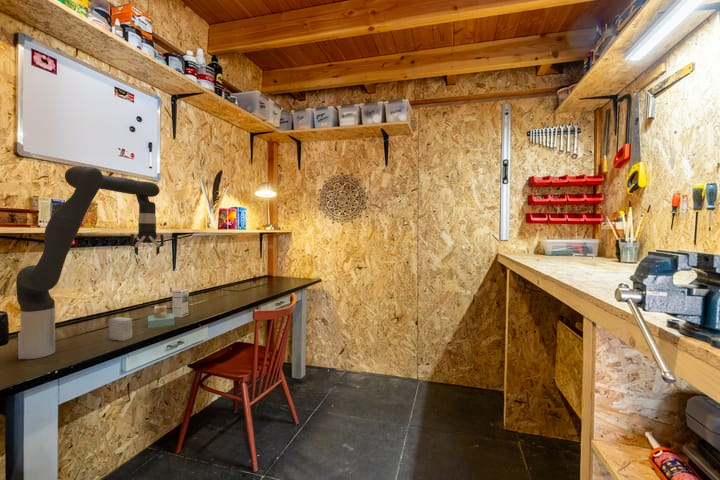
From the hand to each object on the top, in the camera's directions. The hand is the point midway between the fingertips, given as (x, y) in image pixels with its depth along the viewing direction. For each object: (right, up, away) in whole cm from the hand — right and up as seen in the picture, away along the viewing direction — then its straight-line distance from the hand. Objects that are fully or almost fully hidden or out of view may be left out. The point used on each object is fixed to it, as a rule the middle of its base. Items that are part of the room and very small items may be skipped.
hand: (147, 254), depth 168 cm
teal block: (+8, -35, -2) cm, 36 cm away
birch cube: (+8, -31, -2) cm, 32 cm away
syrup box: (+10, -34, +14) cm, 38 cm away
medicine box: (+4, -35, -25) cm, 43 cm away
